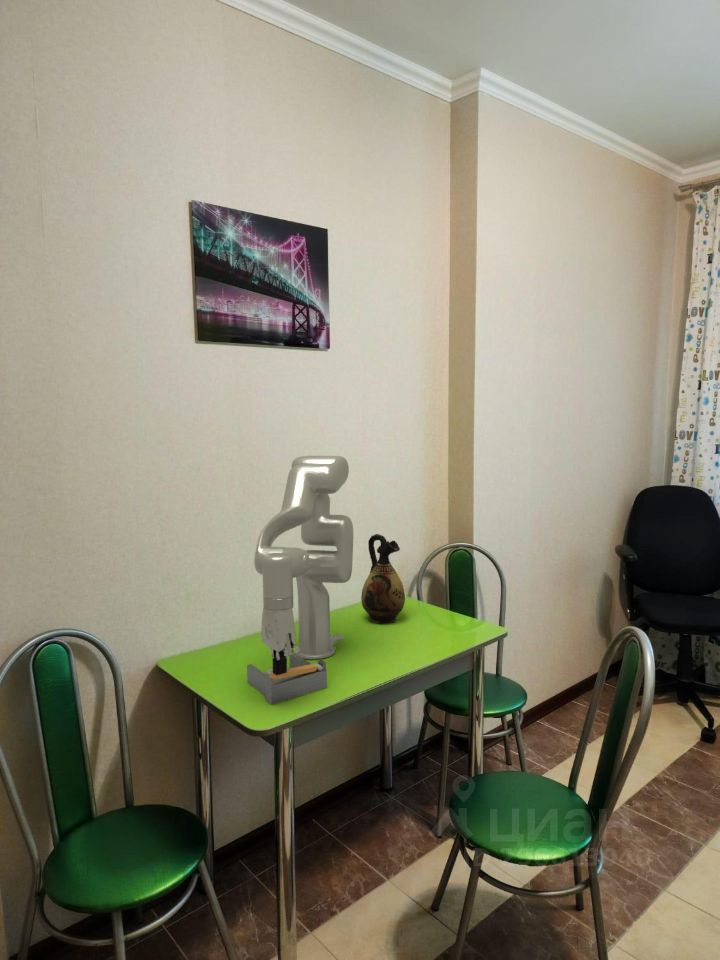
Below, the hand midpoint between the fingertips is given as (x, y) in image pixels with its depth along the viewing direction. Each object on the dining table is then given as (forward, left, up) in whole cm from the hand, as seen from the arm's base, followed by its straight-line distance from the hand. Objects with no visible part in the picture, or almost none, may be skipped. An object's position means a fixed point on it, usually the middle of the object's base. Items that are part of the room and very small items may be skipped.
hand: (279, 672), depth 163 cm
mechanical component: (-4, -8, -8) cm, 12 cm away
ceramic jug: (-59, -34, -8) cm, 69 cm away
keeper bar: (-5, 0, -2) cm, 5 cm away
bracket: (-5, -7, -7) cm, 11 cm away
